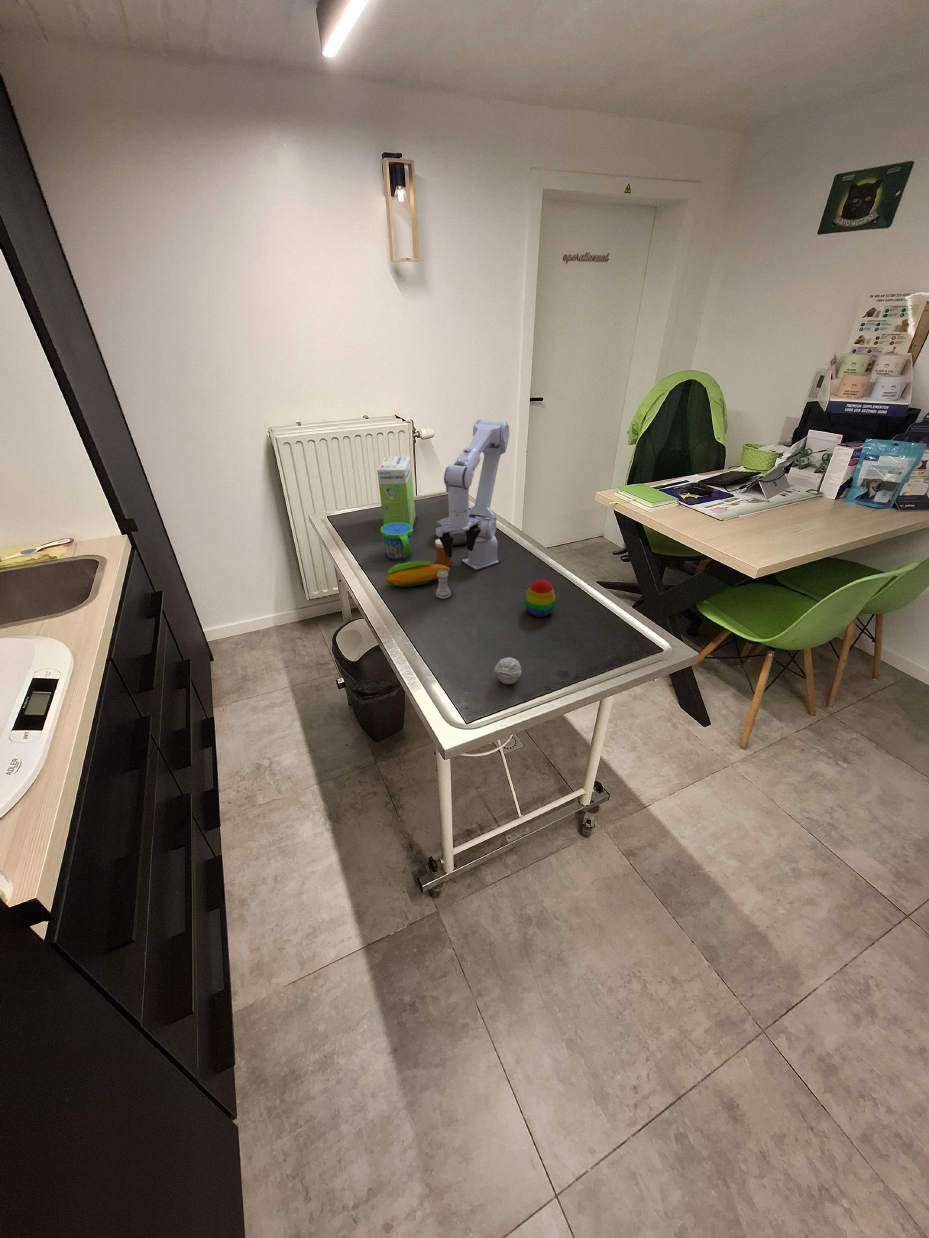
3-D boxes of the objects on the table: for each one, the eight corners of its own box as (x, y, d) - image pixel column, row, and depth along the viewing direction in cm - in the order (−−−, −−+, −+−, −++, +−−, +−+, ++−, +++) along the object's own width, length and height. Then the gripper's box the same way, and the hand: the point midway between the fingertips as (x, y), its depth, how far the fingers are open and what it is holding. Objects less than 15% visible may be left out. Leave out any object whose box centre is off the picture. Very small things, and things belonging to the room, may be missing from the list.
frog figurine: (490, 688, 109) (490, 664, 105) (499, 670, 114) (500, 646, 110) (516, 695, 107) (517, 671, 103) (524, 676, 112) (526, 652, 108)
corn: (381, 559, 146) (446, 551, 150) (384, 581, 150) (446, 571, 155) (385, 572, 140) (452, 562, 145) (388, 594, 145) (452, 584, 149)
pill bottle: (445, 559, 163) (444, 536, 158) (453, 564, 159) (453, 542, 155) (433, 563, 160) (432, 540, 156) (441, 568, 157) (440, 545, 152)
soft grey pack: (450, 550, 168) (498, 537, 177) (450, 528, 164) (498, 516, 172) (430, 535, 179) (475, 524, 188) (429, 514, 174) (476, 503, 183)
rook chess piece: (445, 601, 140) (444, 576, 136) (432, 597, 142) (431, 572, 138) (453, 594, 143) (453, 570, 139) (441, 590, 145) (440, 566, 141)
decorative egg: (558, 618, 132) (561, 586, 127) (529, 621, 131) (531, 589, 126) (548, 602, 139) (552, 572, 134) (521, 605, 138) (523, 574, 132)
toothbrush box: (390, 517, 194) (384, 455, 181) (415, 517, 194) (411, 455, 181) (383, 535, 180) (376, 469, 166) (411, 535, 180) (406, 469, 166)
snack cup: (421, 562, 161) (419, 534, 155) (390, 568, 157) (387, 539, 152) (407, 544, 173) (404, 517, 167) (378, 549, 169) (374, 522, 164)
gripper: (444, 519, 129) (446, 564, 137) (488, 507, 136) (487, 551, 144) (430, 511, 134) (432, 555, 142) (473, 500, 141) (473, 543, 148)
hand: (459, 553), depth 143 cm, fingers open, 7 cm apart
